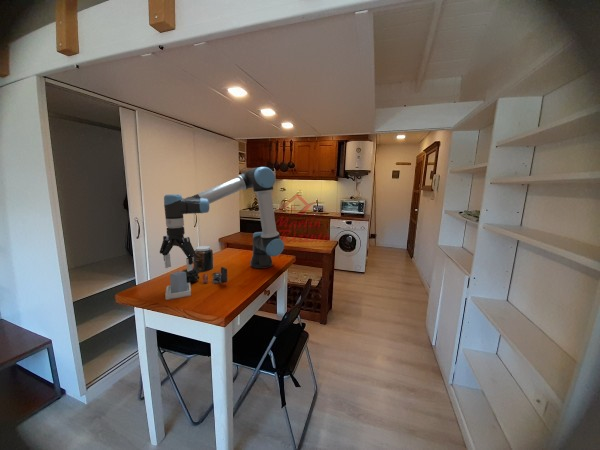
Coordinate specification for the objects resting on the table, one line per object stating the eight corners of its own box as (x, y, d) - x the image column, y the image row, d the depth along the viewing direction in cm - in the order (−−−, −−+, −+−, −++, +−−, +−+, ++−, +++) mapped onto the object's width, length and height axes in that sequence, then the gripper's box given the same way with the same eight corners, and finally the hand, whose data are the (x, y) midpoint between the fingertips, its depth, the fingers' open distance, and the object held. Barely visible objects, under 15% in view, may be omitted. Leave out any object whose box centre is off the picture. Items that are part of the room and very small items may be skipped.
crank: (211, 278, 125) (211, 264, 124) (218, 276, 128) (218, 262, 127) (222, 285, 117) (222, 269, 116) (229, 283, 120) (229, 268, 119)
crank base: (220, 280, 129) (220, 272, 129) (222, 283, 125) (221, 275, 124) (203, 282, 125) (202, 274, 124) (204, 286, 120) (203, 277, 120)
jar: (208, 273, 139) (208, 250, 137) (190, 272, 140) (189, 249, 137) (216, 267, 151) (215, 245, 149) (199, 266, 151) (198, 245, 149)
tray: (190, 287, 119) (190, 282, 119) (191, 295, 110) (190, 290, 109) (166, 290, 114) (166, 286, 114) (165, 300, 105) (165, 295, 104)
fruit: (167, 282, 121) (192, 283, 119) (169, 267, 123) (194, 267, 120) (178, 282, 130) (202, 282, 127) (180, 267, 131) (203, 268, 129)
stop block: (179, 289, 115) (178, 270, 113) (187, 290, 114) (186, 272, 112) (171, 293, 110) (170, 274, 109) (179, 295, 109) (178, 275, 107)
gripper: (148, 226, 107) (152, 268, 110) (190, 229, 100) (193, 274, 103) (162, 224, 114) (165, 263, 117) (202, 227, 107) (204, 269, 110)
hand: (178, 268), depth 110 cm, fingers open, 13 cm apart
